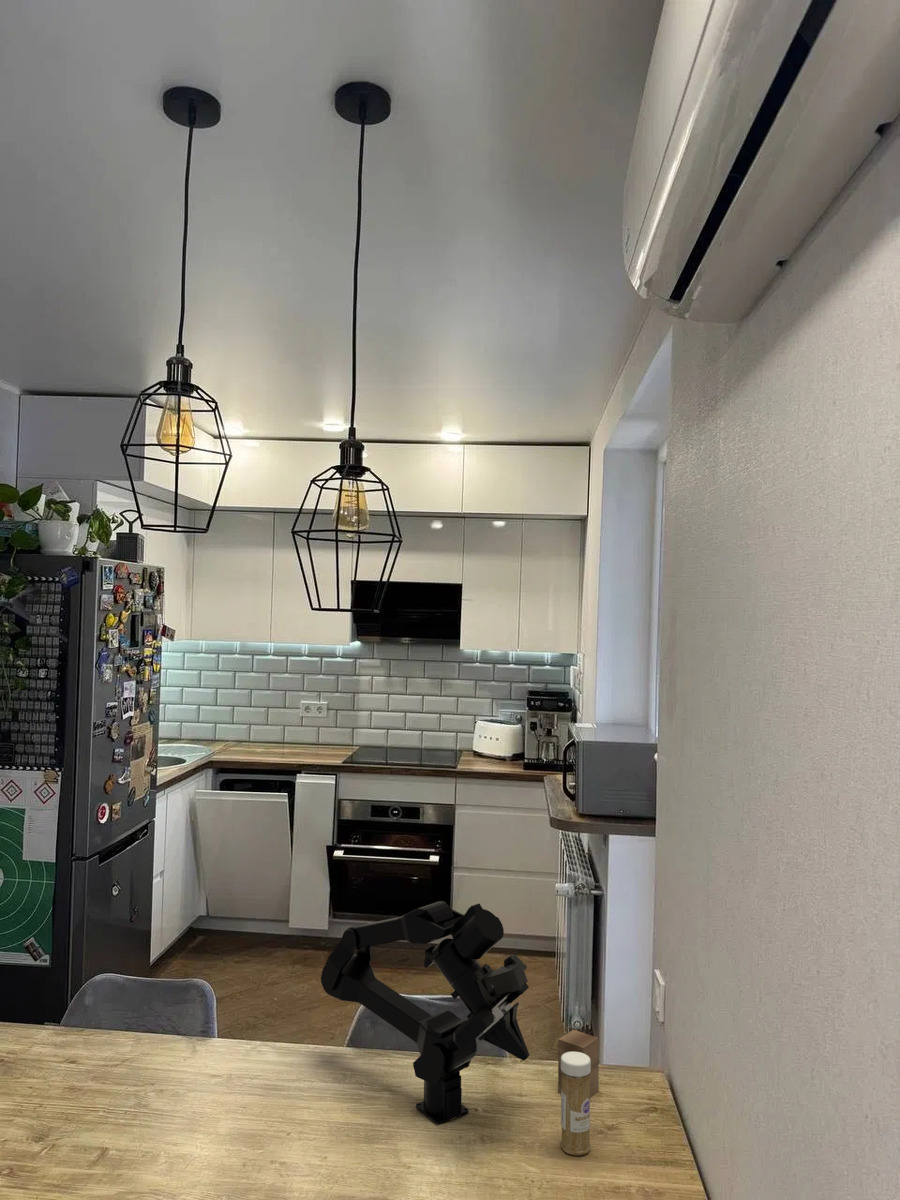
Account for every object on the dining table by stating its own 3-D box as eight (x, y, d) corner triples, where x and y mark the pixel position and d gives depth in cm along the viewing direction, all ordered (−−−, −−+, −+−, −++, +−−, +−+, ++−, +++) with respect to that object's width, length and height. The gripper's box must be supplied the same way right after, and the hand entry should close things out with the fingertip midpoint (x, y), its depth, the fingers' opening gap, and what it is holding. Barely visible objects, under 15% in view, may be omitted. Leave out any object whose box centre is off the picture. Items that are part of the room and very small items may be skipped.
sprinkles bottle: (584, 1160, 126) (584, 1066, 127) (555, 1151, 128) (556, 1059, 129) (594, 1145, 130) (594, 1054, 131) (567, 1136, 132) (567, 1047, 133)
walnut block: (558, 1093, 145) (558, 1039, 146) (573, 1082, 149) (573, 1029, 150) (583, 1103, 142) (583, 1047, 143) (598, 1091, 146) (598, 1038, 146)
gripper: (473, 962, 128) (541, 1053, 122) (518, 927, 145) (580, 1006, 139) (425, 1005, 131) (490, 1096, 125) (475, 966, 147) (534, 1045, 142)
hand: (526, 1058), depth 133 cm, fingers closed
